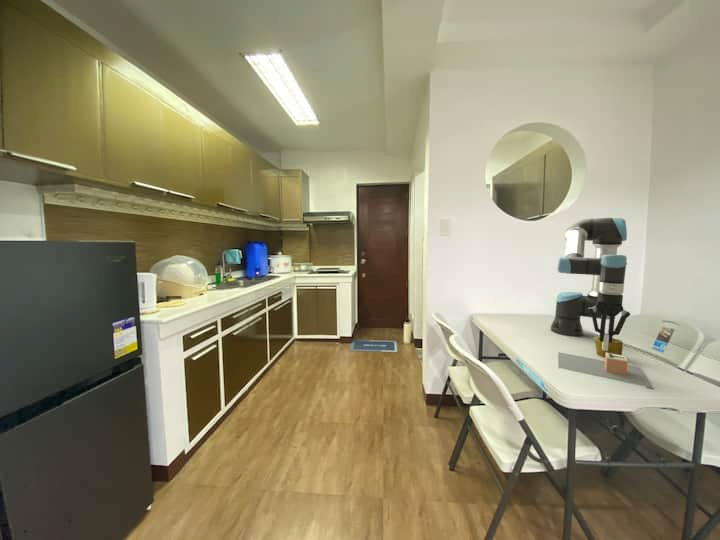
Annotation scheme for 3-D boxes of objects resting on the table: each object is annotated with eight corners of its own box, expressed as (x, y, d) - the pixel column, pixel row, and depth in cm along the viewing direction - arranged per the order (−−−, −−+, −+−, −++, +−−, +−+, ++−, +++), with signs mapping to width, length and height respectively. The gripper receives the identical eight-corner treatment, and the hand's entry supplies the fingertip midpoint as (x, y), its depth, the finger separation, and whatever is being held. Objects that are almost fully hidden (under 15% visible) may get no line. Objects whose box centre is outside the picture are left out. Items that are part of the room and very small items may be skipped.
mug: (633, 358, 122) (624, 335, 124) (607, 363, 125) (598, 341, 126) (616, 353, 134) (608, 332, 136) (592, 357, 136) (584, 337, 138)
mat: (558, 352, 133) (558, 352, 133) (640, 368, 117) (640, 367, 117) (558, 368, 117) (558, 367, 117) (653, 389, 101) (653, 388, 101)
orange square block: (625, 355, 114) (623, 370, 115) (605, 352, 118) (604, 366, 118) (627, 361, 109) (626, 375, 110) (607, 357, 113) (606, 371, 113)
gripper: (590, 292, 114) (585, 348, 116) (634, 296, 106) (628, 356, 109) (588, 290, 120) (583, 343, 122) (630, 293, 112) (624, 350, 115)
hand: (604, 349), depth 116 cm, fingers closed
